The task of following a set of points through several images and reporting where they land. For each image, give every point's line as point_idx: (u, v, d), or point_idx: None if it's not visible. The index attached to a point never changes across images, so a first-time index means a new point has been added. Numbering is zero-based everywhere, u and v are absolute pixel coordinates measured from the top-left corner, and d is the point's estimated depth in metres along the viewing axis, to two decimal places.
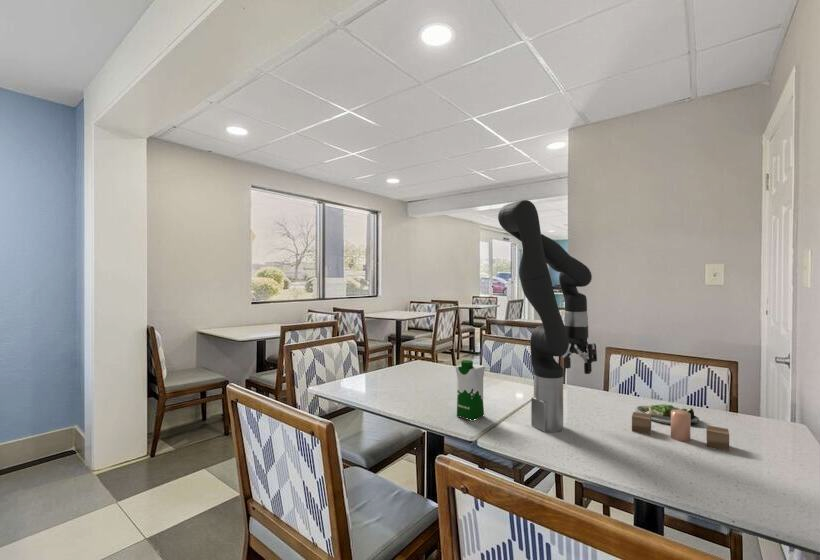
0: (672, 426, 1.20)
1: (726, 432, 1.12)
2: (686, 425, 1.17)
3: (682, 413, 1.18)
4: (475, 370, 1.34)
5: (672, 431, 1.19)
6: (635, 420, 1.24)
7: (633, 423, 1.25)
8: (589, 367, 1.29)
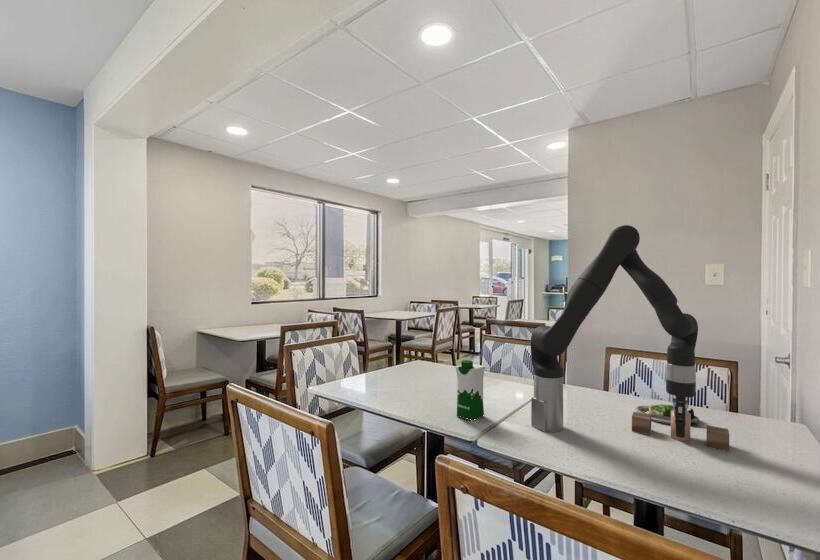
0: (672, 426, 1.19)
1: (726, 432, 1.12)
2: (686, 425, 1.17)
3: None
4: (475, 370, 1.34)
5: (672, 431, 1.19)
6: (635, 420, 1.24)
7: (633, 423, 1.25)
8: None
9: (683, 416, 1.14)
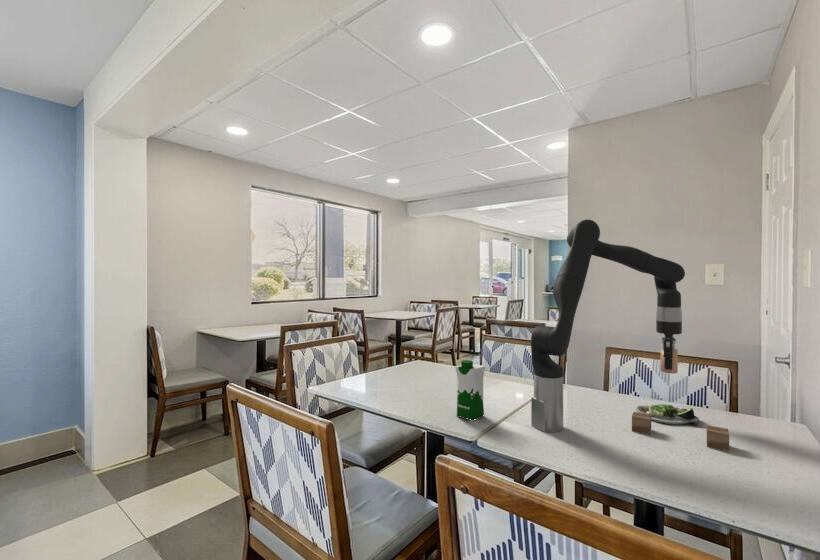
0: (661, 361, 1.37)
1: (726, 432, 1.12)
2: (674, 358, 1.35)
3: None
4: (475, 370, 1.34)
5: (662, 365, 1.37)
6: (635, 420, 1.24)
7: (633, 423, 1.25)
8: None
9: (670, 350, 1.32)
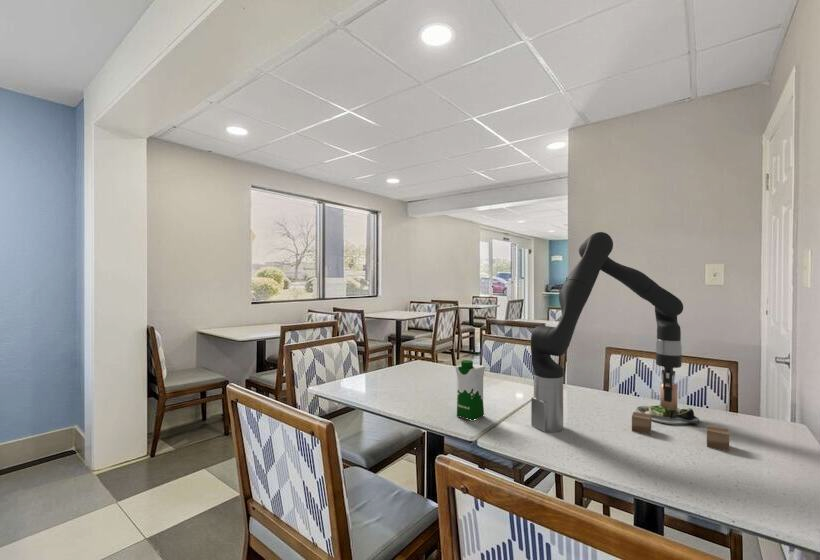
0: (661, 395, 1.37)
1: (726, 432, 1.12)
2: (674, 394, 1.35)
3: None
4: (475, 370, 1.34)
5: (661, 400, 1.37)
6: (635, 420, 1.24)
7: (633, 423, 1.25)
8: None
9: (670, 381, 1.31)
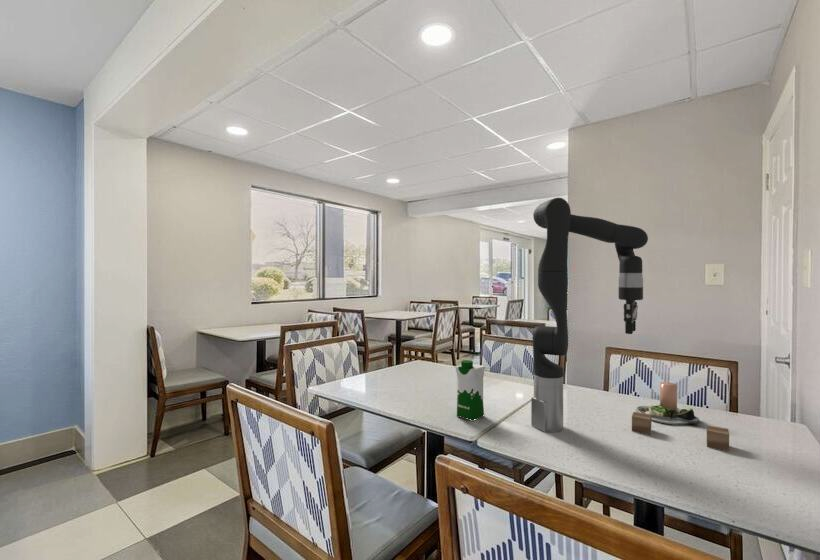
0: (661, 395, 1.38)
1: (726, 432, 1.12)
2: (673, 394, 1.35)
3: (669, 384, 1.36)
4: (475, 370, 1.34)
5: (661, 400, 1.38)
6: (635, 420, 1.25)
7: (633, 423, 1.25)
8: None
9: (630, 312, 1.30)
